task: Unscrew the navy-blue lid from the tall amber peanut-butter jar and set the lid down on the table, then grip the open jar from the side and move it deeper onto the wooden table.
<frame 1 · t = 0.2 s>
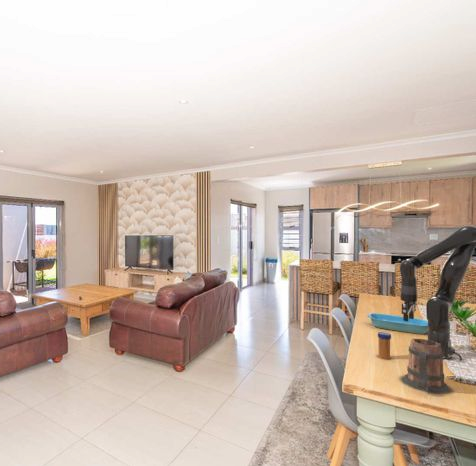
hand: (408, 319, 198), 17 cm above the table, tool pointing down, fingers open, 8 cm apart
jar: (384, 357, 186), on the table
tankard: (424, 387, 152), on the table
lid: (384, 334, 185), point 13 cm above the table, screwed on, not yet turned
casserole dish: (398, 328, 237), on the table
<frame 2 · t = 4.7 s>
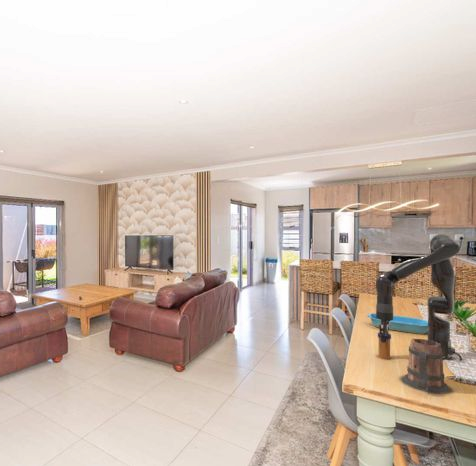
hand: (384, 340, 185), 10 cm above the table, tool pointing down, fingers closed on lid, 5 cm apart
lid: (384, 334, 185), point 13 cm above the table, screwed on, not yet turned, touching gripper
everything else where it was.
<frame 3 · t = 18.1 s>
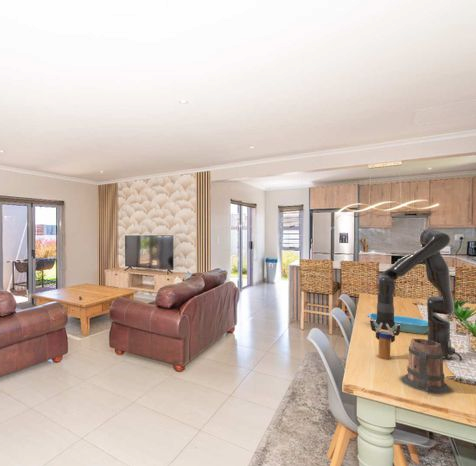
hand: (385, 340, 185), 10 cm above the table, tool pointing down, fingers closed on lid, 5 cm apart
jar: (384, 357, 186), on the table, touching gripper
lid: (385, 333, 185), point 14 cm above the table, off its thread, touching gripper
everything else where it was.
when the fingers open (7 cm above the table, at t = 43.9 s): lid stays where it is, point 2 cm above the table.
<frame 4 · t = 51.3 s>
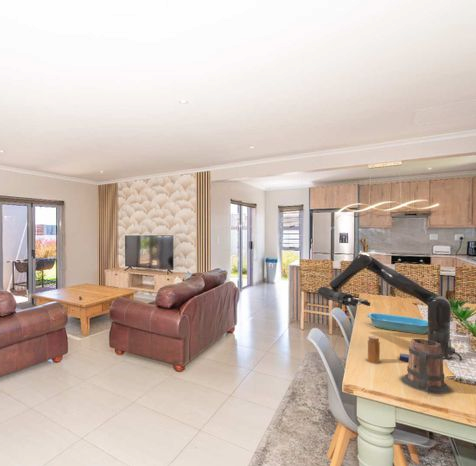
hand: (362, 304, 193), 28 cm above the table, tool horizontal, fingers open, 8 cm apart
jar: (373, 361, 181), on the table
lid: (406, 356, 182), point 2 cm above the table, off its thread
everything else where it was.
at the end: lid point 1.9 cm above the table; the gripper is holding nothing; jar inside the target area (0.2 cm from its centre), on the table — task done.
